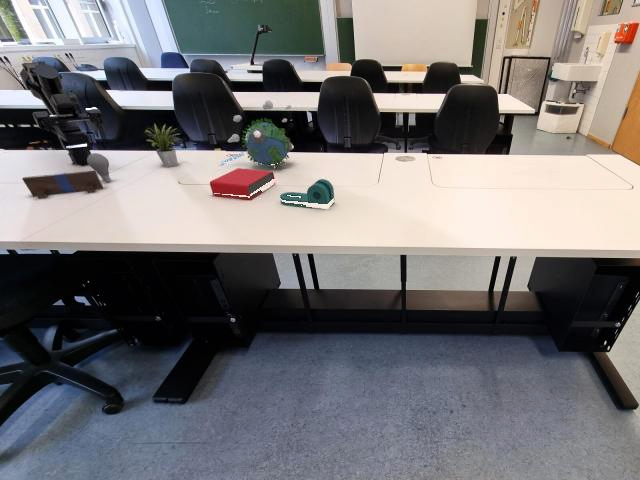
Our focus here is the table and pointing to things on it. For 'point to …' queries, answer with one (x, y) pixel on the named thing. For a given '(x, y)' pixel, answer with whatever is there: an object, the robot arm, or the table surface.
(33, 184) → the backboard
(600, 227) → the table surface
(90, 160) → the light bulb
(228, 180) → the red book
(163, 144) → the house plant
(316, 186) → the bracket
